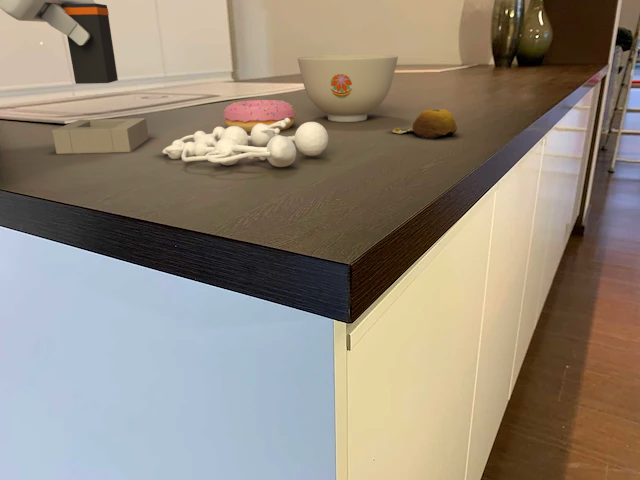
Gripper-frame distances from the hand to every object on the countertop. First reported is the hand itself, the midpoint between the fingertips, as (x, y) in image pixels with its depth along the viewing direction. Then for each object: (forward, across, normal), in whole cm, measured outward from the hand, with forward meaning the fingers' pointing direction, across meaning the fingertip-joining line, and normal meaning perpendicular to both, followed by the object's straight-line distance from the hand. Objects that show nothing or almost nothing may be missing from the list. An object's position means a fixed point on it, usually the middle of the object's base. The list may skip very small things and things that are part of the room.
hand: (95, 41), depth 66 cm
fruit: (+40, +3, -21) cm, 45 cm away
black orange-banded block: (+3, 0, +4) cm, 5 cm away
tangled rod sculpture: (+22, -11, -3) cm, 25 cm away
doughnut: (+23, +11, -4) cm, 26 cm away
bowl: (+33, +18, -14) cm, 40 cm away
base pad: (+9, 0, +10) cm, 13 cm away
